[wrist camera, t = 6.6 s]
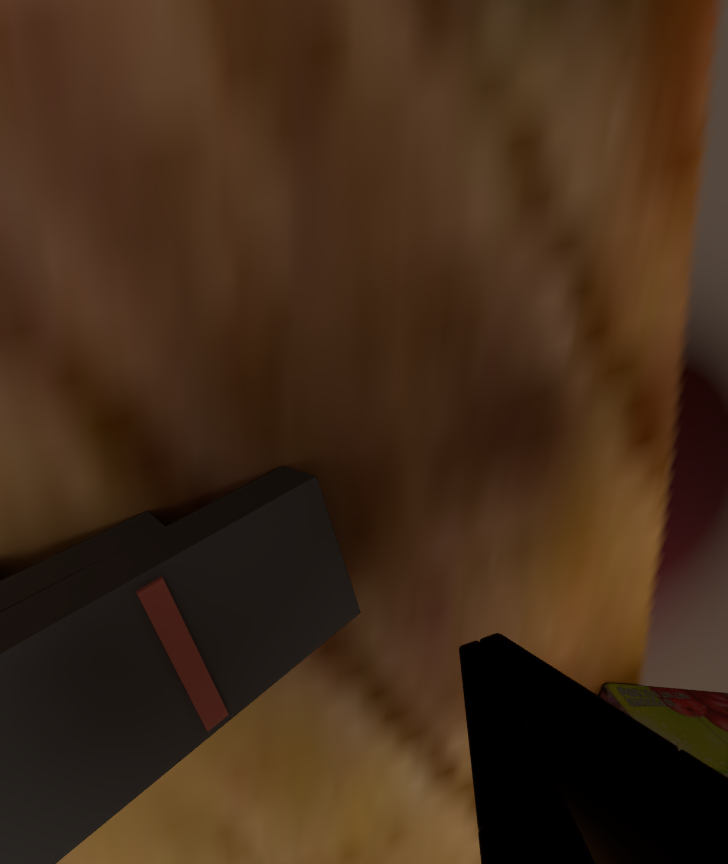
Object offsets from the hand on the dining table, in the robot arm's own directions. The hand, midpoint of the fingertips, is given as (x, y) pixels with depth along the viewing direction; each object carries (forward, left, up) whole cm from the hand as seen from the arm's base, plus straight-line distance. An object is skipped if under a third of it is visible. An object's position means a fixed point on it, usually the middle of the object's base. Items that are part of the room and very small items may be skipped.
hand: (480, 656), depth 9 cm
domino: (+3, 0, -7) cm, 7 cm away
